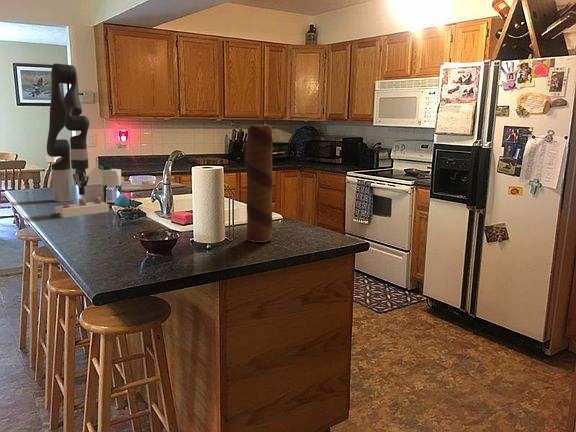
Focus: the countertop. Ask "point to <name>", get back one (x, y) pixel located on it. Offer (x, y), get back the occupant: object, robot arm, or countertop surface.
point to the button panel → (81, 209)
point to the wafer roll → (259, 182)
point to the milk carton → (111, 179)
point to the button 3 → (97, 199)
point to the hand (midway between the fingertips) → (81, 194)
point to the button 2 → (82, 201)
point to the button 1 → (66, 206)
